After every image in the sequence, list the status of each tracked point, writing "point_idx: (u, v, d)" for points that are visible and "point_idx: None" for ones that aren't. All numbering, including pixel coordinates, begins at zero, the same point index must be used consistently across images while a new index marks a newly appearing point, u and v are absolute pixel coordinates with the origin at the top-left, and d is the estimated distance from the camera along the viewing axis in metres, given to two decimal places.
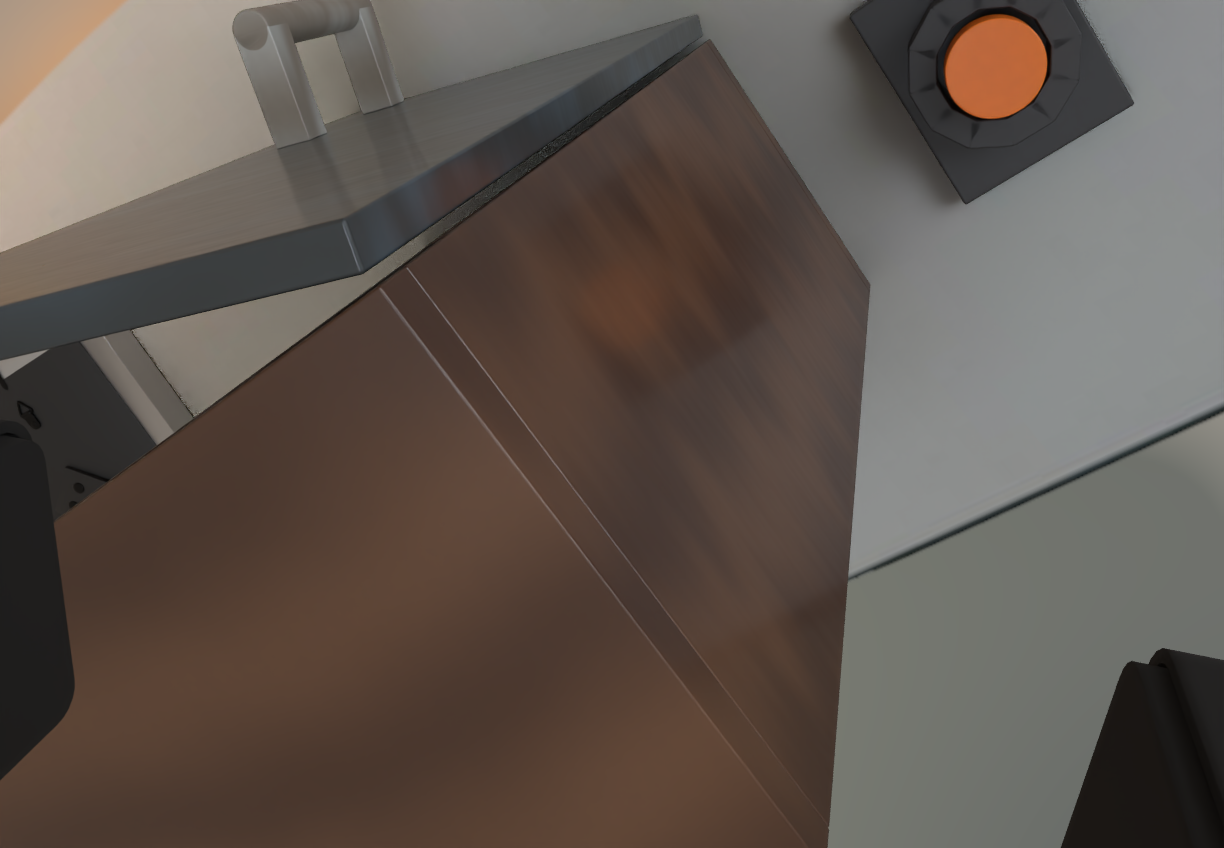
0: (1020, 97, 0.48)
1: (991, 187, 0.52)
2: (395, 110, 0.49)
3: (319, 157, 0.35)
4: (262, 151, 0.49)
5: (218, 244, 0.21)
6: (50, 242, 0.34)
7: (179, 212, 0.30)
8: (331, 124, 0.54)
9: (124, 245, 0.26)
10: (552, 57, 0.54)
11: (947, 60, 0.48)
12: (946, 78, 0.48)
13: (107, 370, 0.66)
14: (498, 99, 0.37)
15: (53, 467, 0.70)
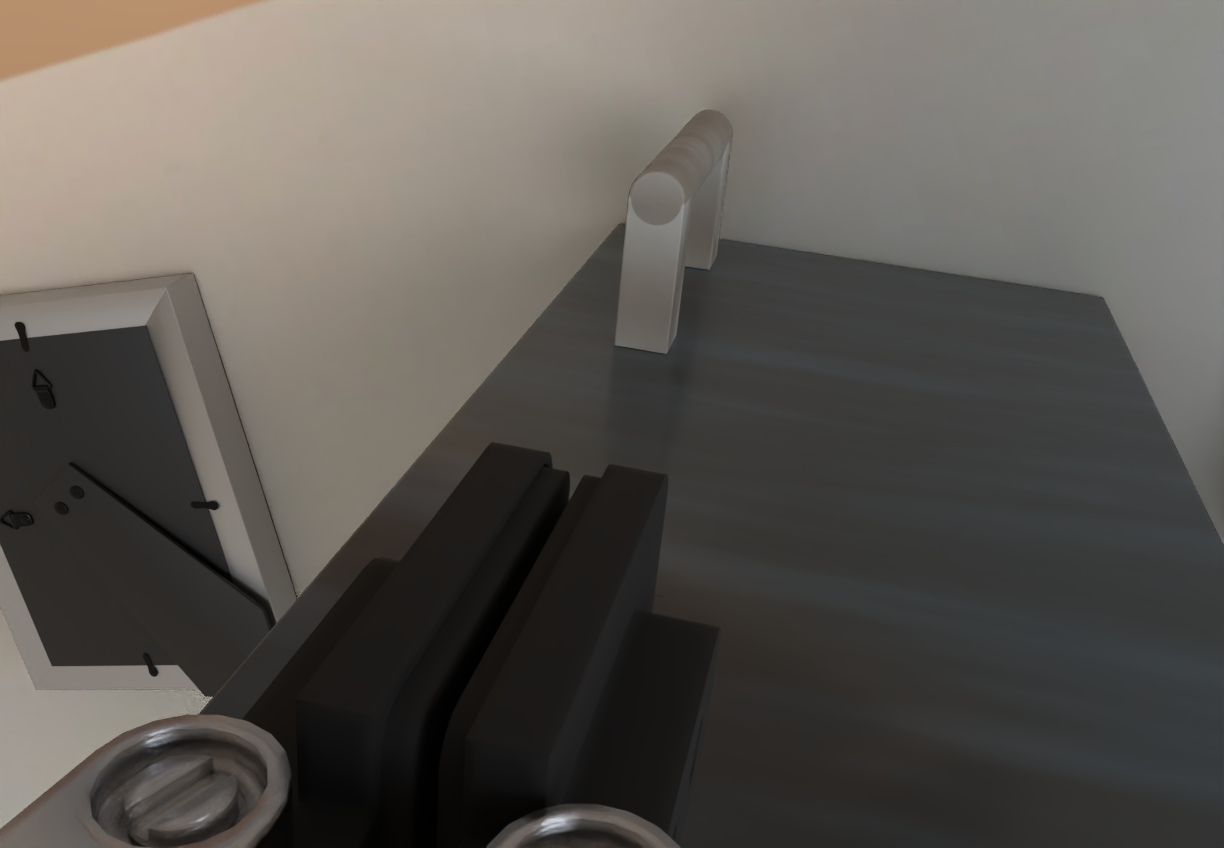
0: None
1: None
2: (755, 322, 0.37)
3: (855, 588, 0.24)
4: (575, 319, 0.36)
5: None
6: None
7: (758, 757, 0.19)
8: None
9: None
10: (917, 280, 0.42)
11: None
12: None
13: (173, 382, 0.51)
14: (1081, 550, 0.26)
15: (51, 456, 0.55)
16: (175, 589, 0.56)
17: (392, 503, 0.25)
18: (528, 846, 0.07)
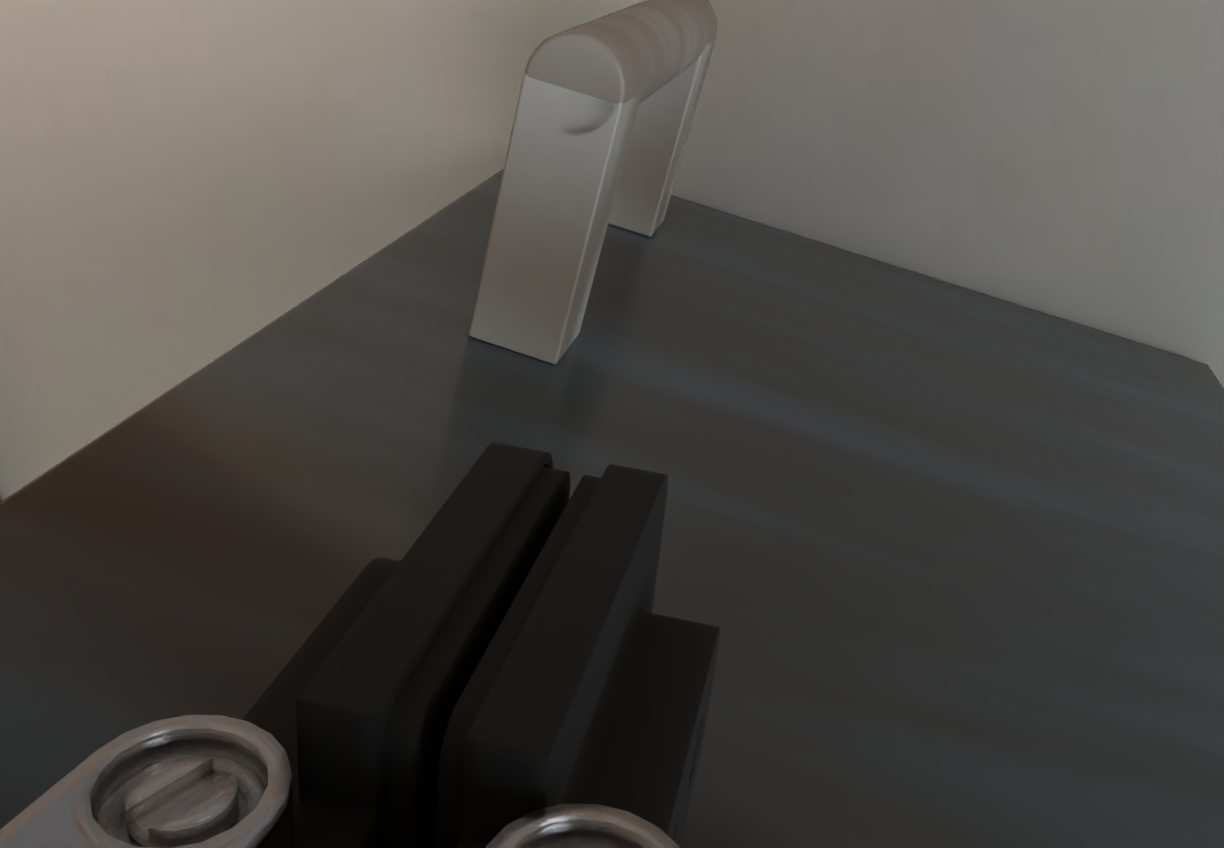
0: None
1: None
2: (711, 330, 0.23)
3: None
4: (414, 280, 0.21)
5: None
6: None
7: None
8: None
9: None
10: (951, 300, 0.29)
11: None
12: None
13: None
14: None
15: None
16: None
17: None
18: (528, 846, 0.07)
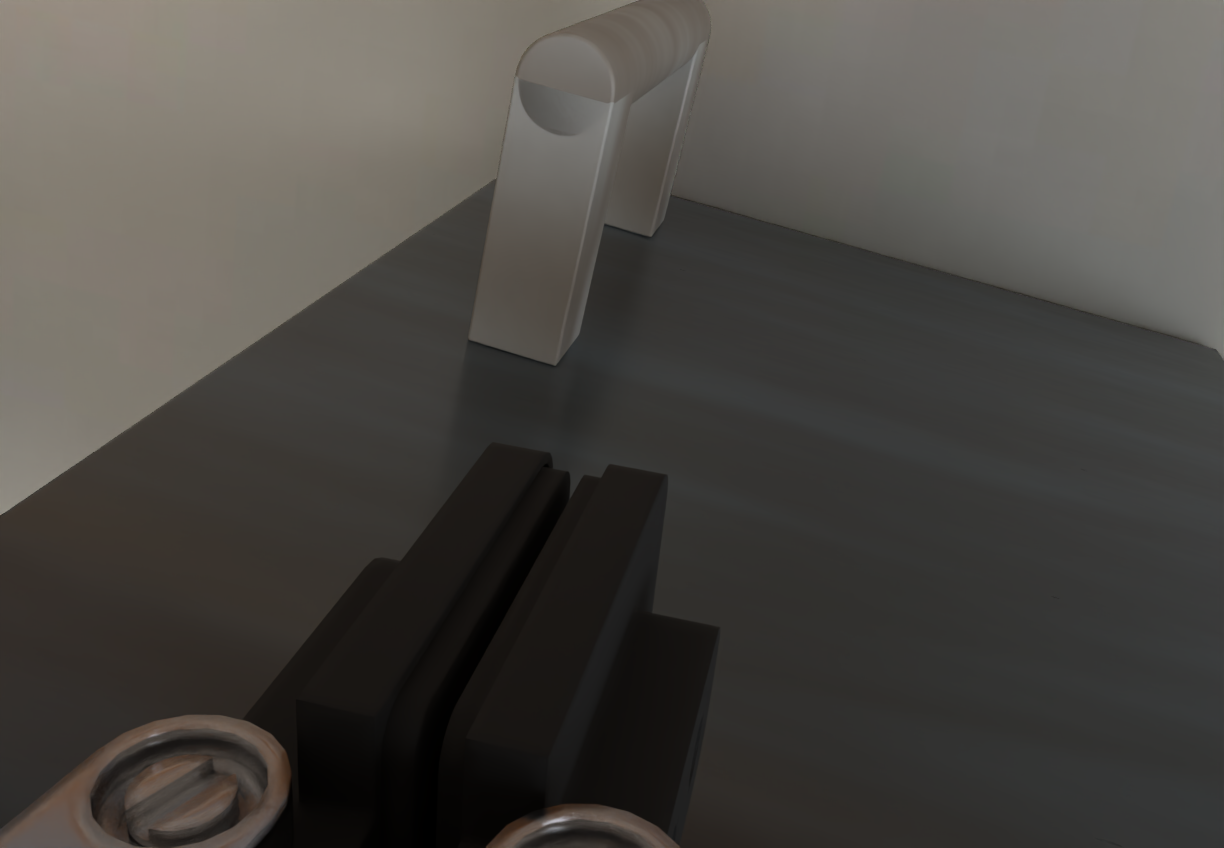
0: None
1: None
2: (712, 327, 0.23)
3: None
4: (414, 286, 0.21)
5: None
6: None
7: None
8: None
9: None
10: (954, 291, 0.29)
11: None
12: None
13: None
14: None
15: None
16: None
17: None
18: (528, 846, 0.07)
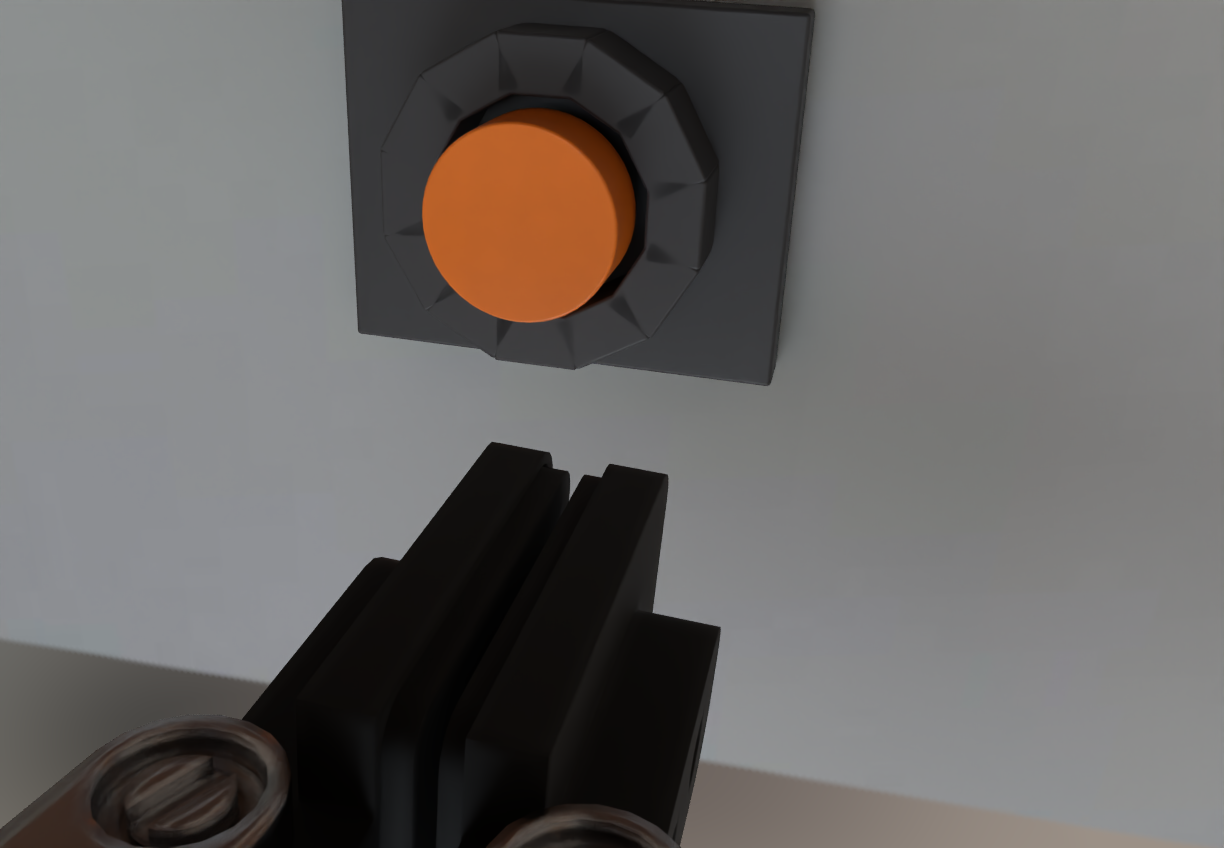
0: (443, 231, 0.23)
1: (346, 47, 0.25)
2: None
3: None
4: None
5: None
6: None
7: None
8: None
9: None
10: None
11: (589, 161, 0.22)
12: (558, 137, 0.22)
13: None
14: None
15: None
16: None
17: None
18: (528, 846, 0.07)
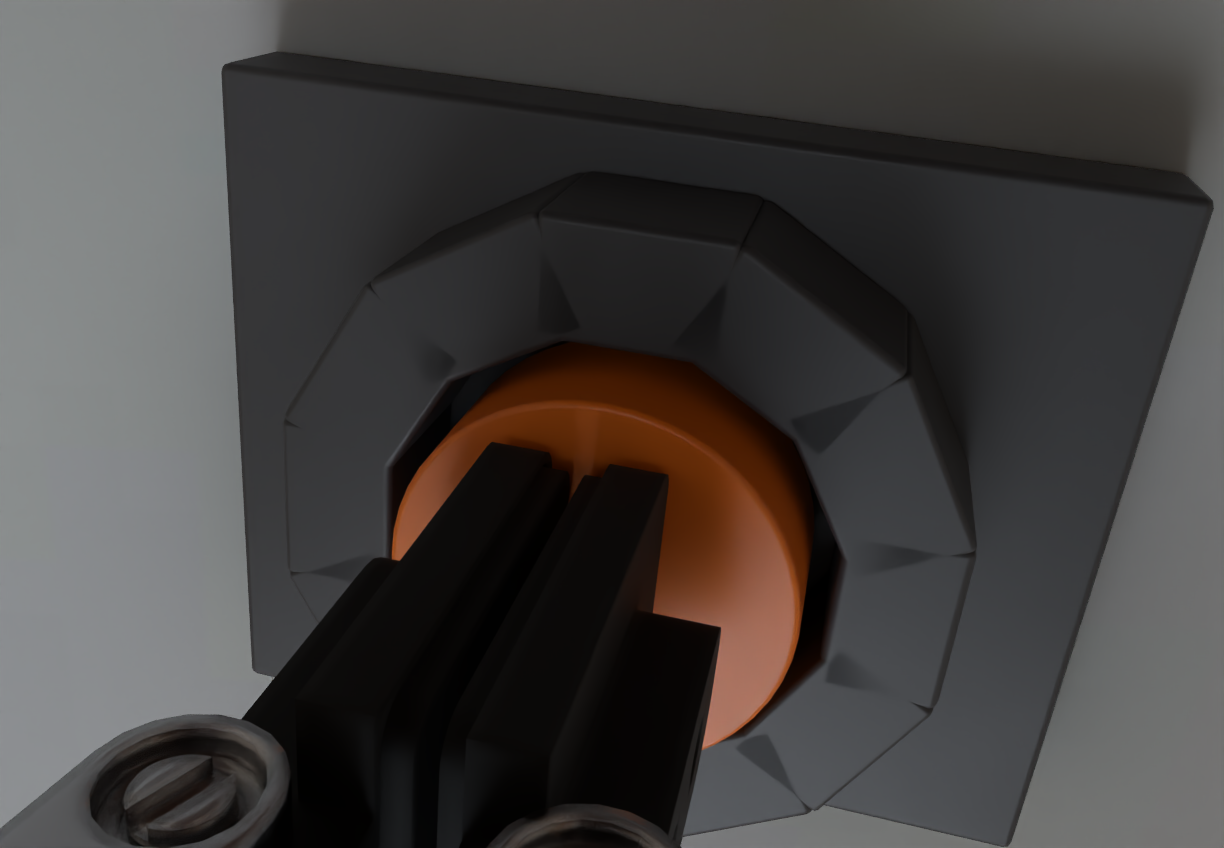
0: None
1: (232, 189, 0.13)
2: None
3: None
4: None
5: None
6: None
7: None
8: None
9: None
10: None
11: (753, 494, 0.10)
12: (691, 444, 0.10)
13: None
14: None
15: None
16: None
17: None
18: (528, 846, 0.07)
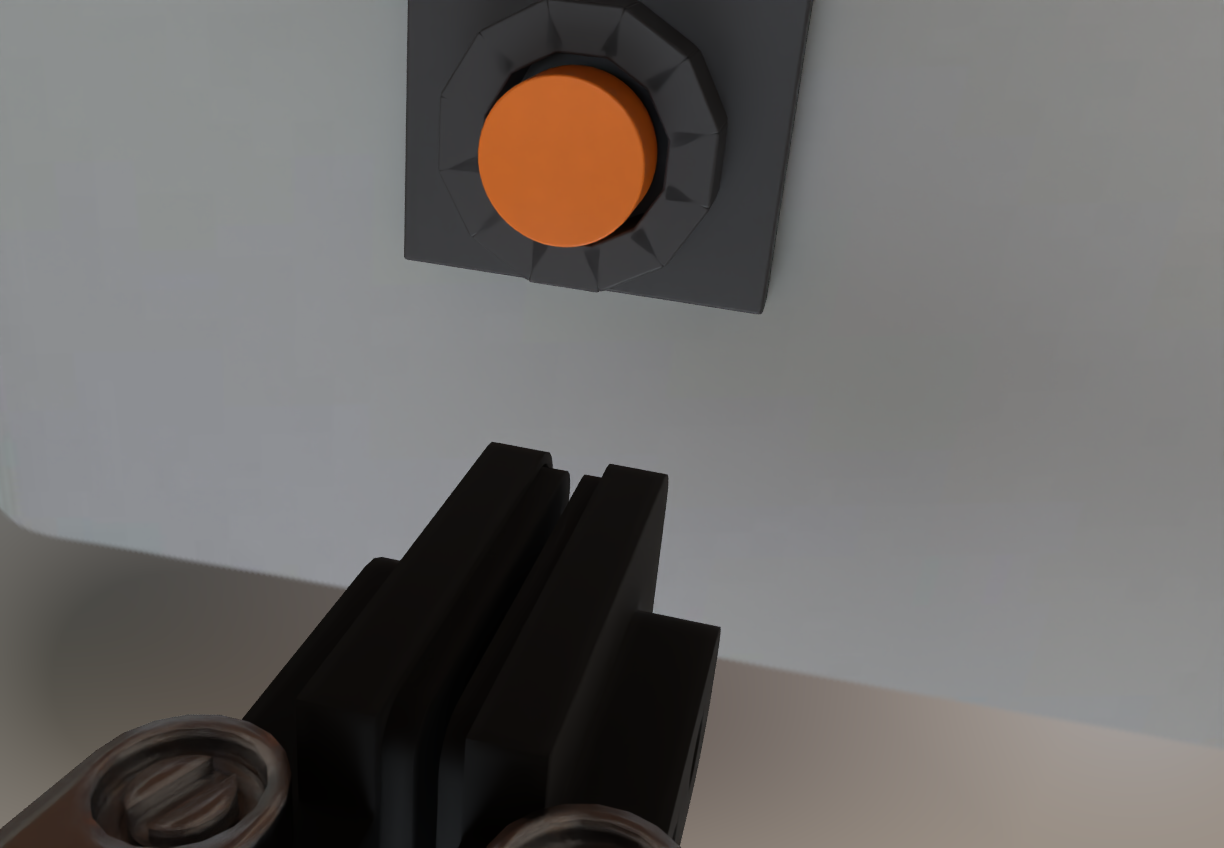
0: (495, 166, 0.27)
1: (410, 7, 0.29)
2: None
3: None
4: None
5: None
6: None
7: None
8: None
9: None
10: None
11: (624, 110, 0.26)
12: (599, 89, 0.26)
13: None
14: None
15: None
16: None
17: None
18: (528, 846, 0.07)
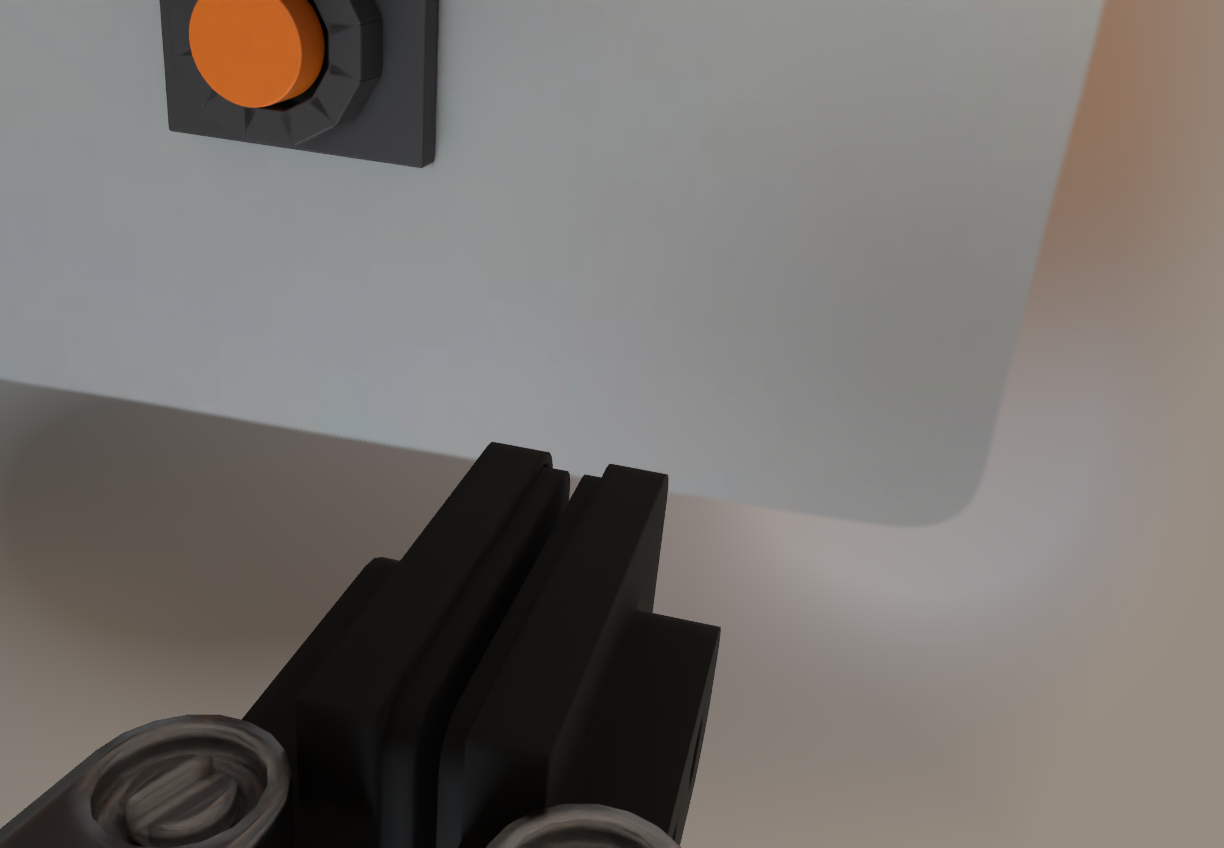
0: (201, 47, 0.38)
1: None
2: None
3: None
4: None
5: None
6: None
7: None
8: None
9: None
10: None
11: (283, 4, 0.37)
12: None
13: None
14: None
15: None
16: None
17: None
18: (528, 846, 0.07)
